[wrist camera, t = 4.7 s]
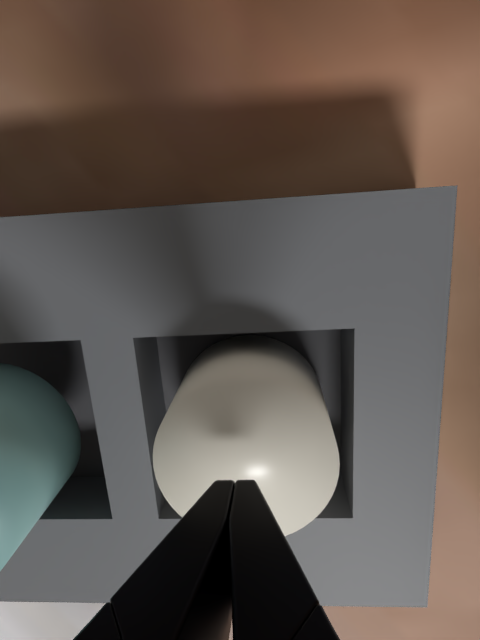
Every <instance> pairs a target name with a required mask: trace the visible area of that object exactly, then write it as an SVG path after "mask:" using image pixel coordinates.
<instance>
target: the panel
mask: <svg viewBox="0 0 480 640" xmlns="http://www.w3.org/2000/svg"><path fill="white" fill-rule="evenodd" d="M456 197H457V186H443V187H429V188H414V189H400V190H386V191H371V192H357V193H343V194H328V195H314V196H300V197H285V198H271V199H257V200H242V201H228V202H213V203H199V204H185V205H170V206H156V207H142V208H127V209H113V210H99V211H84V212H70V213H56V214H41V215H27V216H13V217H0V363H4V364H10V365H14V366H17V367H21V368H23V369H25V370H28V371H30V372H32V373H34V374H36V375H38V376H39V377H41V378H42V379H44V380H45V381H47V382H48V383H49V384H50V385H52V386H53V387H54V388H55V389H56V390H57V391H58V392H59V393H60V394H61V395H62V396H63V398H64V399H65V400H66V402H67V403H68V404H69V406H70V408H71V410H72V411H73V413H74V415H75V418H76V420H77V423H78V426H79V430H80V436H81V452H80V457H79V461H78V463H77V466H76V468H75V470H74V472H73V473H72V475H71V476H70V478H69V479H68V480H67V482H66V483H65V484H64V486H63V487H62V488H61V490H60V491H59V493H58V494H57V495H56V497H55V498H54V499H53V501H52V502H51V503H50V505H49V506H48V507H47V509H46V510H45V512H44V513H43V514H42V516H41V517H40V518H39V520H38V521H37V522H36V524H35V525H34V527H33V528H32V529H31V531H30V532H29V533H28V535H27V536H26V537H25V539H24V540H23V542H22V543H21V544H20V546H19V547H18V548H17V550H16V551H15V552H14V554H13V555H12V557H11V558H10V559H9V561H8V562H7V563H6V565H5V566H4V567H3V569H2V570H1V571H0V601H9V602H81V603H107V602H110V599H111V597H112V596H113V595H114V594H115V593H116V592H117V591H118V589H119V588H120V587H121V586H122V585H123V584H124V583H125V582H126V580H127V579H128V578H129V577H130V576H131V575H132V574H133V573H134V571H135V570H136V569H137V568H138V567H139V566H140V565H141V563H142V562H143V561H144V560H145V559H146V558H147V557H148V556H149V554H150V553H151V552H152V551H153V550H154V549H155V548H156V547H157V545H158V544H159V543H160V542H161V541H162V540H163V539H164V538H165V536H166V535H167V534H168V533H169V532H170V531H171V530H172V529H173V527H174V526H175V525H176V524H177V523H178V522H179V521H180V519H181V518H182V517H181V516H180V515H179V514H178V513H177V512H176V511H175V510H174V509H173V508H172V507H171V506H170V504H169V503H168V501H167V500H166V499H165V497H164V495H163V494H162V492H161V490H160V488H159V485H158V483H157V480H156V477H155V473H154V468H153V446H154V442H155V437H156V434H157V432H158V429H159V427H160V425H161V423H162V421H163V419H164V417H165V415H166V413H167V411H168V409H169V406H170V404H171V402H172V400H173V398H174V396H175V394H176V392H177V390H178V388H179V386H180V384H181V382H182V380H183V378H184V376H185V374H186V372H187V370H188V369H189V367H190V365H191V364H192V363H193V361H194V360H195V359H196V358H197V357H198V356H199V355H200V354H201V353H202V352H203V351H204V350H206V349H207V348H208V347H210V346H211V345H213V344H215V343H217V342H219V341H222V340H224V339H227V338H231V337H235V336H243V335H257V336H264V337H269V338H272V339H276V340H278V341H280V342H283V343H285V344H287V345H288V346H290V347H292V348H293V349H295V350H296V351H297V352H299V353H300V354H301V355H302V356H303V357H304V358H305V359H306V360H307V361H308V363H309V364H310V365H311V367H312V368H313V370H314V372H315V373H316V375H317V378H318V380H319V383H320V386H321V390H322V393H323V397H324V400H325V404H326V407H327V411H328V414H329V418H330V422H331V425H332V429H333V432H334V436H335V439H336V443H337V447H338V452H339V461H340V468H339V477H338V481H337V486H336V488H335V491H334V493H333V496H332V497H331V499H330V501H329V502H328V504H327V506H326V507H325V508H324V509H323V511H322V512H321V513H320V514H319V515H318V516H317V517H316V518H315V519H314V520H313V521H311V522H310V523H309V524H307V525H306V526H305V527H303V528H301V529H300V530H298V531H296V532H294V533H292V534H289V535H287V536H285V538H286V539H287V541H288V543H289V545H290V547H291V549H292V551H293V553H294V555H295V557H296V559H297V560H298V562H299V564H300V566H301V568H302V570H303V572H304V574H305V576H306V578H307V580H308V581H309V583H310V585H311V587H312V589H313V591H314V593H315V595H316V597H317V599H318V600H319V604H320V605H321V606H368V607H427V603H428V589H429V575H430V561H431V547H432V533H433V519H434V505H435V491H436V477H437V463H438V449H439V435H440V421H441V407H442V393H443V379H444V365H445V351H446V337H447V323H448V309H449V295H450V281H451V267H452V253H453V239H454V225H455V211H456Z"/></svg>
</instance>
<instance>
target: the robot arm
mask: <svg viewBox="0 0 480 640" xmlns="http://www.w3.org/2000/svg"><path fill="white" fill-rule="evenodd" d="M231 621H232V625H233V640H340V639H339V637H338V635H337V634H336V632H335V630H334V628H333V627H332V625H331V623H330V621H329V619H328V617H327V615H326V613H325V611H324V609H323V608H322V606H321V605H320V604H319V600H318V599H317V597H316V595H315V593H314V591H313V589H312V587H311V585H310V583H309V581H308V580H307V578H306V576H305V574H304V572H303V570H302V568H301V566H300V564H299V562H298V560H297V559H296V557H295V555H294V553H293V551H292V549H291V547H290V545H289V543H288V541H287V539H286V538H285V536H284V534H283V532H282V530H281V528H280V526H279V524H278V522H277V520H276V519H275V517H274V515H273V513H272V511H271V509H270V507H269V505H268V503H267V501H266V499H265V498H264V496H263V494H262V492H261V490H260V488H259V486H258V484H257V482H256V481H255V480H237V481H236V482H234V481H233V480H216V481H214V482H213V483H212V485H211V486H210V487H209V488H208V489H207V490H206V491H205V492H204V494H203V495H202V496H201V497H200V498H199V499H198V500H197V501H196V503H195V504H194V505H193V506H192V507H191V508H190V509H189V510H188V512H187V513H186V514H185V515H184V516H183V517H182V518H181V519H180V521H179V522H178V523H177V524H176V525H175V526H174V527H173V529H172V530H171V531H170V532H169V533H168V534H167V535H166V536H165V538H164V539H163V540H162V541H161V542H160V543H159V544H158V545H157V547H156V548H155V549H154V550H153V551H152V552H151V553H150V554H149V556H148V557H147V558H146V559H145V560H144V561H143V562H142V563H141V565H140V566H139V567H138V568H137V569H136V570H135V571H134V573H133V574H132V575H131V576H130V577H129V578H128V579H127V580H126V582H125V583H124V584H123V585H122V586H121V587H120V588H119V589H118V591H117V592H116V593H115V594H114V595H113V596H112V597H111V599H110V602H107V603H106V604H105V605H104V606H103V607H102V608H101V609H100V611H99V612H98V613H97V614H96V615H95V616H94V617H93V619H92V620H91V621H90V622H89V623H88V624H87V625H86V626H85V627H84V628H83V629H82V630H81V631H80V633H79V634H78V635H77V636H76V637H75V638H74V639H73V640H229V633H230V627H231Z"/></svg>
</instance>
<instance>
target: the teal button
mask: <svg viewBox="0 0 480 640" xmlns="http://www.w3.org/2000/svg"><path fill="white" fill-rule="evenodd" d="M80 452H81V436H80V430H79V426H78V423H77V420H76V418H75V415H74V413H73V411H72V410H71V408H70V406H69V404H68V403H67V402H66V400H65V399H64V398H63V396H62V395H61V394H60V393H59V392H58V391H57V390H56V389H55V388H54V387H53V386H52V385H50V384H49V383H48V382H47V381H45V380H44V379H42V378H41V377H39V376H38V375H36V374H34V373H32V372H30V371H28V370H25V369H23V368H21V367H17V366H14V365H10V364H4V363H0V571H1V570H2V569H3V567H4V566H5V565H6V563H7V562H8V561H9V559H10V558H11V557H12V555H13V554H14V552H15V551H16V550H17V548H18V547H19V546H20V544H21V543H22V542H23V540H24V539H25V537H26V536H27V535H28V533H29V532H30V531H31V529H32V528H33V527H34V525H35V524H36V522H37V521H38V520H39V518H40V517H41V516H42V514H43V513H44V512H45V510H46V509H47V507H48V506H49V505H50V503H51V502H52V501H53V499H54V498H55V497H56V495H57V494H58V493H59V491H60V490H61V488H62V487H63V486H64V484H65V483H66V482H67V480H68V479H69V478H70V476H71V475H72V473H73V472H74V470H75V468H76V466H77V463H78V461H79V457H80Z"/></svg>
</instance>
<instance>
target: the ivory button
mask: <svg viewBox="0 0 480 640" xmlns="http://www.w3.org/2000/svg"><path fill="white" fill-rule="evenodd" d="M153 468H154V473H155V477H156V480H157V483H158V485H159V488H160V490H161V492H162V494H163V495H164V497H165V499H166V500H167V501H168V503H169V504H170V506H171V507H172V508H173V509H174V510H175V511H176V512H177V513H178V514H179V515H180V516H181V517H183V516H184V515H185V514H186V513H187V512H188V510H189V509H190V508H191V507H192V506H193V505H194V504H195V503H196V501H197V500H198V499H199V498H200V497H201V496H202V495H203V494H204V492H205V491H206V490H207V489H208V488H209V487H210V486H211V485H212V483H213V482H214V481H216V480H233V481H234V482H236V481H237V480H255V481H256V482H257V484H258V486H259V488H260V490H261V492H262V494H263V496H264V498H265V499H266V501H267V503H268V505H269V507H270V509H271V511H272V513H273V515H274V517H275V519H276V520H277V522H278V524H279V526H280V528H281V530H282V532H283V534H284V536H287V535H289V534H292V533H294V532H296V531H298V530H300V529H301V528H303V527H305V526H306V525H307V524H309V523H310V522H311V521H313V520H314V519H315V518H316V517H317V516H318V515H319V514H320V513H321V512H322V511H323V509H324V508H325V507H326V506H327V504H328V502H329V501H330V499H331V497H332V496H333V493H334V491H335V488H336V486H337V481H338V477H339V468H340V461H339V452H338V447H337V443H336V439H335V436H334V432H333V429H332V425H331V422H330V418H329V414H328V411H327V407H326V404H325V400H324V397H323V393H322V390H321V386H320V383H319V380H318V378H317V375H316V373H315V372H314V370H313V368H312V367H311V365H310V364H309V363H308V361H307V360H306V359H305V358H304V357H303V356H302V355H301V354H300V353H299V352H297V351H296V350H295V349H293V348H292V347H290V346H288V345H287V344H285V343H283V342H280V341H278V340H276V339H272V338H269V337H264V336H257V335H243V336H235V337H231V338H227V339H224V340H222V341H219V342H217V343H215V344H213V345H211V346H210V347H208V348H207V349H206V350H204V351H203V352H202V353H201V354H200V355H199V356H198V357H197V358H196V359H195V360H194V361H193V363H192V364H191V365H190V367H189V369H188V370H187V372H186V374H185V376H184V378H183V380H182V382H181V384H180V386H179V388H178V390H177V392H176V394H175V396H174V398H173V400H172V402H171V404H170V406H169V409H168V411H167V413H166V415H165V417H164V419H163V421H162V423H161V425H160V427H159V429H158V432H157V434H156V437H155V442H154V446H153Z"/></svg>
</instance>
